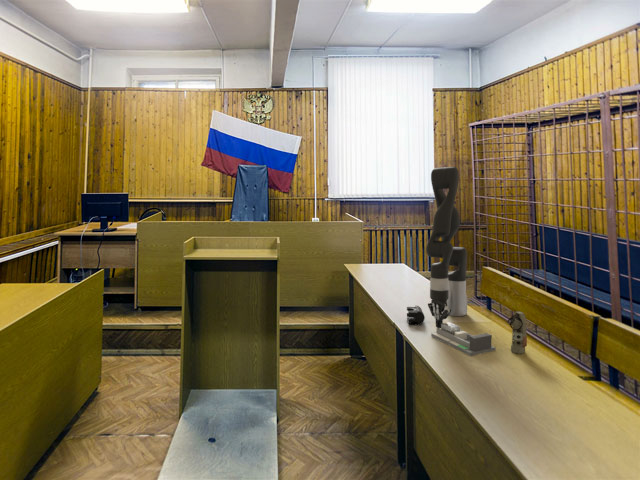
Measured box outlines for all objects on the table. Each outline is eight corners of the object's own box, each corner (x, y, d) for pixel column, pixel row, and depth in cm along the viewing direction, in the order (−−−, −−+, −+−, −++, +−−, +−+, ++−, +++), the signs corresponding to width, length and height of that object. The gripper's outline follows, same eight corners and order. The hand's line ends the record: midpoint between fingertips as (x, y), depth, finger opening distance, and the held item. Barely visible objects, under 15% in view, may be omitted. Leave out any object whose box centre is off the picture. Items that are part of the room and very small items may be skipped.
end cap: (424, 326, 167) (424, 311, 166) (408, 325, 168) (408, 311, 167) (421, 319, 177) (421, 305, 176) (406, 318, 178) (406, 305, 177)
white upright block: (463, 337, 148) (463, 330, 148) (466, 339, 146) (467, 332, 146) (454, 339, 146) (454, 332, 146) (458, 341, 145) (458, 334, 144)
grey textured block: (449, 331, 155) (449, 322, 155) (462, 337, 148) (462, 327, 148) (441, 332, 154) (441, 323, 153) (453, 338, 147) (453, 329, 146)
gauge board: (454, 331, 158) (454, 317, 158) (495, 350, 138) (496, 334, 137) (431, 336, 154) (431, 321, 153) (470, 356, 134) (470, 339, 133)
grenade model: (502, 350, 138) (503, 311, 136) (520, 349, 138) (521, 310, 137) (513, 357, 131) (514, 316, 130) (531, 356, 132) (533, 315, 131)
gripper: (457, 290, 152) (456, 331, 153) (436, 283, 164) (436, 322, 166) (442, 292, 149) (442, 333, 151) (422, 285, 161) (422, 324, 163)
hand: (439, 327), depth 158 cm, fingers closed
